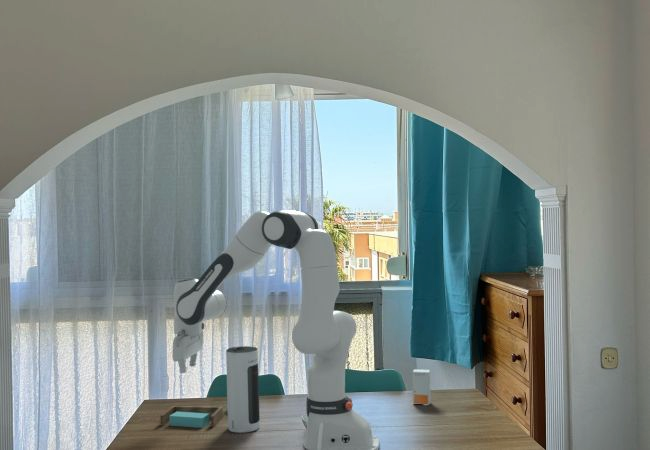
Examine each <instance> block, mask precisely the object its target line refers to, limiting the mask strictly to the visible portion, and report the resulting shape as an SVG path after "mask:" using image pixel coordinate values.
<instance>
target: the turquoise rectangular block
mask: <svg viewBox="0 0 650 450" xmlns="http://www.w3.org/2000/svg"><path fill="white" fill-rule="evenodd" d="M169 419H170V421H169V426H170V427H171V426H173V427H185V428H186V427H188V428H198V429H203V428H205V427H206V426H208V425H209V424H211V420H210V418H209V414H207V413H192V412H175V413H173V414H172V415H170V416H169Z"/></svg>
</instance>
